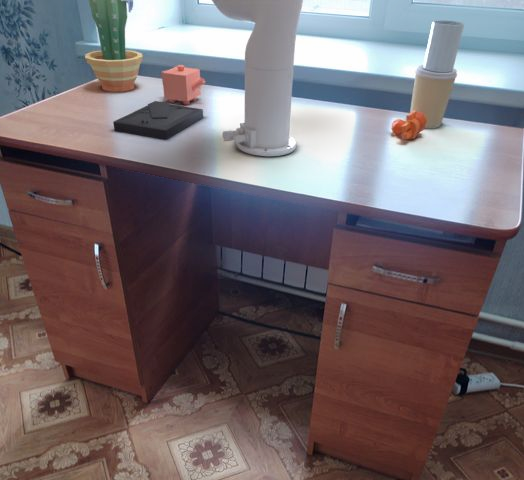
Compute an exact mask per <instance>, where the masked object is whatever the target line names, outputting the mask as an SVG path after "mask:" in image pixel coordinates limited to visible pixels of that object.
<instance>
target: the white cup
mask: <svg viewBox="0 0 524 480" xmlns="http://www.w3.org/2000/svg"><path fill="white" fill-rule="evenodd" d="M430 27H431V28H430V31H429V32H430V33H429V36H428V42H427V47H426V51H425V55H424V60H423V64H422V65H423V68H424V69H426V70H430V71H435V72H450V71H452V70H453V68H454V67H455V63H456V59H457V55H458V51H459V46H460V43H461V38H462V35H463V31H464V27H465V23H464V22H461V21H456V20H447V19H439V20H438V19H437V20H436V19H435V20H433V21H432V22H431V26H430Z"/></svg>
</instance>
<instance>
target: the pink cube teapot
mask: <svg viewBox="0 0 524 480" xmlns="http://www.w3.org/2000/svg"><path fill="white" fill-rule="evenodd" d="M161 81H162V87H163V88H162V89H163V99H164V100H169V103H171V104H173V103H176V102H177V101H179V102H182V104H183V105H190V104H191V103H190V101H193V102H194V101H197V97H199V96H201V95H202V91H201V90H202V89H201V87H202V86H204V85H205V84H206V80H205V79H204V77H201V70H200V68H194V67H186V66H185V65H184V64H178V65H176V66H174V67H172V68H170V69H167V70H162V71H161Z"/></svg>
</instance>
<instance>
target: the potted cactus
mask: <svg viewBox="0 0 524 480" xmlns="http://www.w3.org/2000/svg"><path fill="white" fill-rule="evenodd" d="M88 2H89V3H88V4H89V8H90V12H91V17H92V19H93V21H94V23H95V25H96V28H97V33H98V40H99V45H100V50H93V51H90V52H87V53H85V54H84V58H85V61H86V63H87V65H89V66H90V67H91V70H92V72H93V73H94V76H95V77H96V79H97V80H98V81H99V82H100V84H101V85H102V86H101V87H102V88H101V89H102V90H103V91H106V92H113V93H116V92H117V93H118V92H119V93H120V92H128V91H132V90H134V89H135V88H136V87H135V82H136V80H137V77H138V76H139V72H140V65H141V64H142V63H143V53H142V52H139V51H136V50H131V49H129V50H128V49H126V25H127V21H128V13H131V12H132V11H133V8H134V0H88ZM127 4H128V5H127ZM127 6H128V7H127Z"/></svg>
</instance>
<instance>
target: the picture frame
mask: <svg viewBox="0 0 524 480" xmlns="http://www.w3.org/2000/svg"><path fill="white" fill-rule="evenodd" d="M202 119H204V109H203V108H197V107H191V106H183V105H177V104H172V103H171V102H166V101H160V100H159V101H158V100H154V101H152V102H149V103H147V105H145V106H143V107H141V108H139V109H137V110H135V111H133V112H131V113H128V114H127V115H126V114H125V116H122V117H120V118H118V119H115V120H114V121H113V122H112V123H113V129H114V131H115V132H122V133H127V134H131V135H139V136H144V137H151V138H154V139H155V138H157V139H163V140H168V139H170V138H172V137H174V136H175V135H176V134H178V133H180V132H181V131H184V130H185V129H187V128H189V127H190V126H192V125H194V124H195V123H197V122H198V121H200V120H202Z"/></svg>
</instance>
